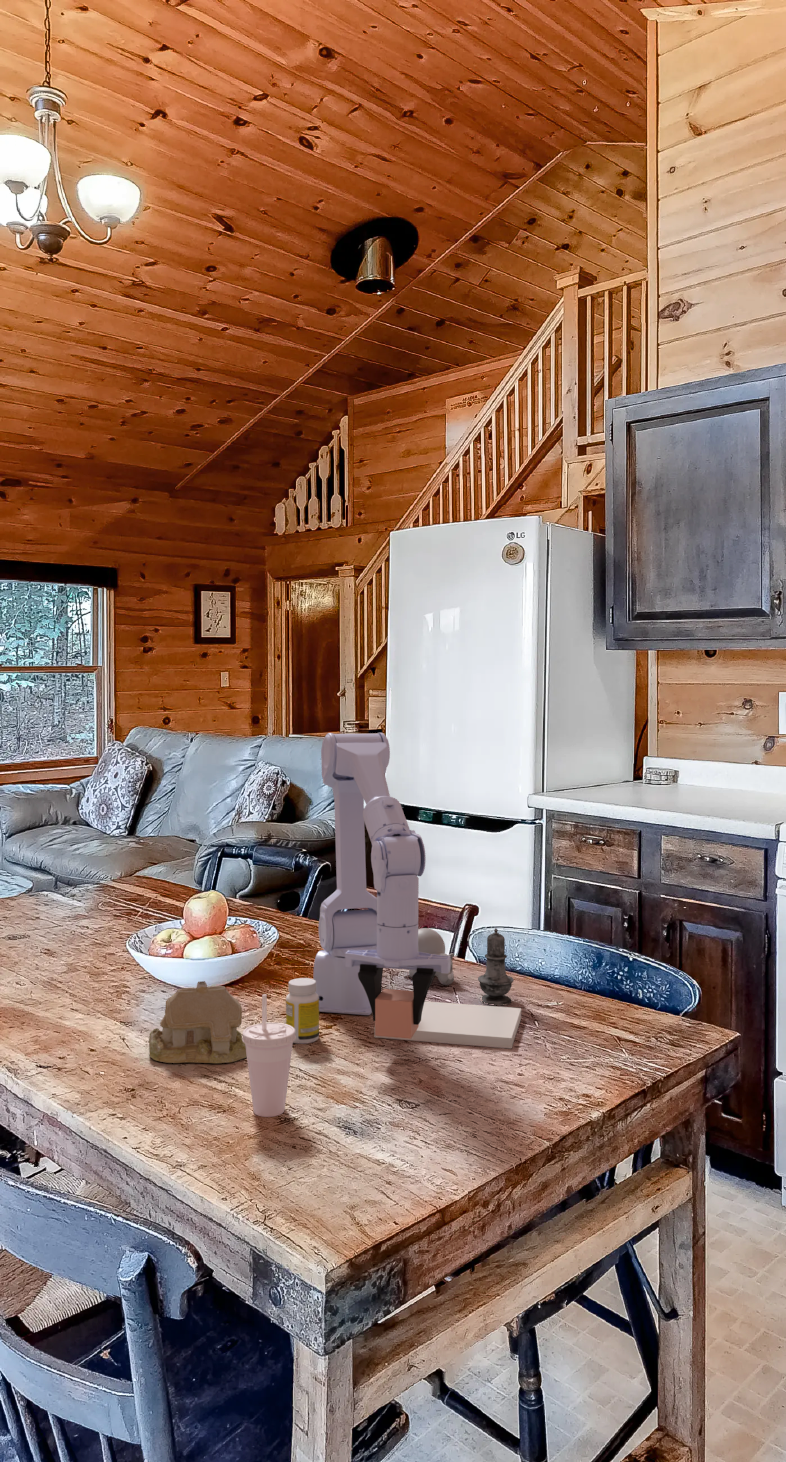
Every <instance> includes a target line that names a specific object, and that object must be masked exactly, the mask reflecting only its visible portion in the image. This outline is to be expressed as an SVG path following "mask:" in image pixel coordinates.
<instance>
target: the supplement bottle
mask: <svg viewBox="0 0 786 1462" xmlns="http://www.w3.org/2000/svg"><path fill="white" fill-rule="evenodd" d="M315 992H316V981H315V980H314V979H313V978H309V977H299V978H294V979H290V980H289V981H288V994H287V995H286V997H285V1024H288V1025H290V1026H292V1027H293V1028H294V1029H295V1036H296V1039H295V1041H293V1044H300V1045H301V1044H302V1045H303V1044H310V1043H315V1042H317V1041H318V1040H319V1038H320V1012H319V996H318V994H317V993H315Z"/></svg>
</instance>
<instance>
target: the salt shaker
mask: <svg viewBox="0 0 786 1462" xmlns="http://www.w3.org/2000/svg"><path fill="white" fill-rule="evenodd" d="M493 931H494V932H493V933H491V934H489V935H488V936H487V938H486V940H487V941H486V954H484V958H486V968H485V973H484V974H481V975H480V976H478V977H477V981H478V982H479V987H480V990H481V991H482V992H483V993H484V995H482V996H481V997H482V1000H483V1001H482V1002H485V1003H488V1004H494V1005H493V1006H496V1005H499V1006H504V1005H503V1004H507V1005H510V1004H512V1002H511V1001H512V998H511V997H509V996H508V995H507V994H508V993H509V992H510V990H511V989H512V986H513V985H512V984H513V982H514V981H515V980H514V978H513V977H511V976H509V975H508V974H507V972H506V959H507V957H508V955H506V954H505V951H506V950H505V948H506V947H505V945H506V941H505V937H504V935H503V934H501V933H499V932H498V931H499V930H498V928H497V927H495V928H494V930H493ZM509 1003H510V1004H509Z"/></svg>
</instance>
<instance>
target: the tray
mask: <svg viewBox="0 0 786 1462" xmlns="http://www.w3.org/2000/svg"><path fill="white" fill-rule="evenodd" d="M521 1019H522V1008H521V1007H510V1006H509V1007H507V1006H496V1005H481V1004H479V1005H478V1004H467V1003H456V1002H455V1003H452V1002H441V1001H440V1002H439V1001H438V1002H437V1001H426V1000H425V1002H424V1006H423V1010H422V1016H421V1021H420V1023H419V1027H418V1028H417V1030H416V1032H415V1033H414V1035H413V1037H412V1038H411V1039H409V1038H397V1037H385V1036H375V1026H374V1029H373V1031H374V1032H373V1033H374V1035H373V1036H374V1037H373V1038H378V1039H379V1038H380V1039H392V1040H402V1041H413V1042H414V1041H416V1042H426V1043H439V1044H452V1045H463V1046H464V1045H465V1046H475V1047H476V1046H477V1047H489V1048H499V1049H501V1048H502V1049H512V1047H513V1045H514V1042H515V1039H516V1035H517V1033H518V1029H519V1026H520V1023H521Z"/></svg>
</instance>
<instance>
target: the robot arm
mask: <svg viewBox="0 0 786 1462" xmlns="http://www.w3.org/2000/svg"><path fill="white" fill-rule="evenodd" d="M390 748H391V747H390V743H389V739H388V737H387V736H386V735H385V733H383V732H377V733H333V732H328V733H326V734H325V736H324V738H323V740H322V744H321V748H320V749H321V751H320V752H321V753H320V757H321V758H320V760H321V778H322V784H324V785H325V786H328V787H330V788H331V790H332V794H333V800H334V831H335V832H334V835H335V837H334V838H335V861H336V862H335V867H336V868H335V870H336V889H335V891H334V892H333V893H331V894H330V895H329V896H328V897H327V898H325V899H324V900H323V901H322V902H321V904H320V907H319V920H318V938H319V939H318V940H319V944H320V946H321V948H322V950H319V951H317V953H316V955H315V958H314V964H313V978H312V979H314V980H315V981H316V992H315V993H317V994H318V996H319V1013H320V1012H322V1013H334V1014H348V1015H361V1016H370V1015H372V1020H373V1022H375V999H376V998H377V997H378V995H379V994H380V993H381V992H382V985H383V983H382V982H383V972H384V969H392V970H393V969H394V970H396V969H397V970H408V971H409V970H417V972H416V973H415V974H414V975H413V976H412V977H411V979H412V980H411V982H412V987H413V988H412V989H413V990H412V991H413V993H414V1009H413V1024H415V1025H419V1023H420V1021H421V1016H422V1010H423V1006H424V1002H425V1001H426V998H427V995H428V992H429V989H430V987H431V986H432V982H433V979H434V978H435V974H436V972H441V973H445V974H448V973H449V972H450V970H451V957H450V956H442V955H435V954H429V953H423V952H418V929H419V894H420V893H419V887H420V886H419V885H420V884H419V877H422V875H423V874H424V872H425V868H426V862H427V861H426V850H425V844H424V841H423V838H422V836H421V835H420V834H418V833H416V830H414V829H413V830H412V829H410V826H409V824H408V821H407V818H406V816H405V814H404V810H403V808H402V805H401V802H400V801H399V800H398V799H397V798H395V797H393V796H391V795H390V789H389V786H388V782H387V778H386V775H385V774H386V773H387V768H388V765H389V763H390V758H391V757H390V756H391V753H390V752H391V751H390V750H391V749H390ZM364 802H365V803H364ZM365 827H366V829H365ZM365 830H367V833H368V837H369V840H370V842H371V853H370V862H371V868H372V873H373V887H374V890H376V896H375V895H373V894H372V893H370V892H369V891H368V890H367V868H366V867H367V866H366V837H365V836H366V833H365ZM350 909H351V910H350ZM352 909H354V910H352ZM355 909H360V910H355ZM340 910H341V911H340ZM343 910H344V911H343Z"/></svg>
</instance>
